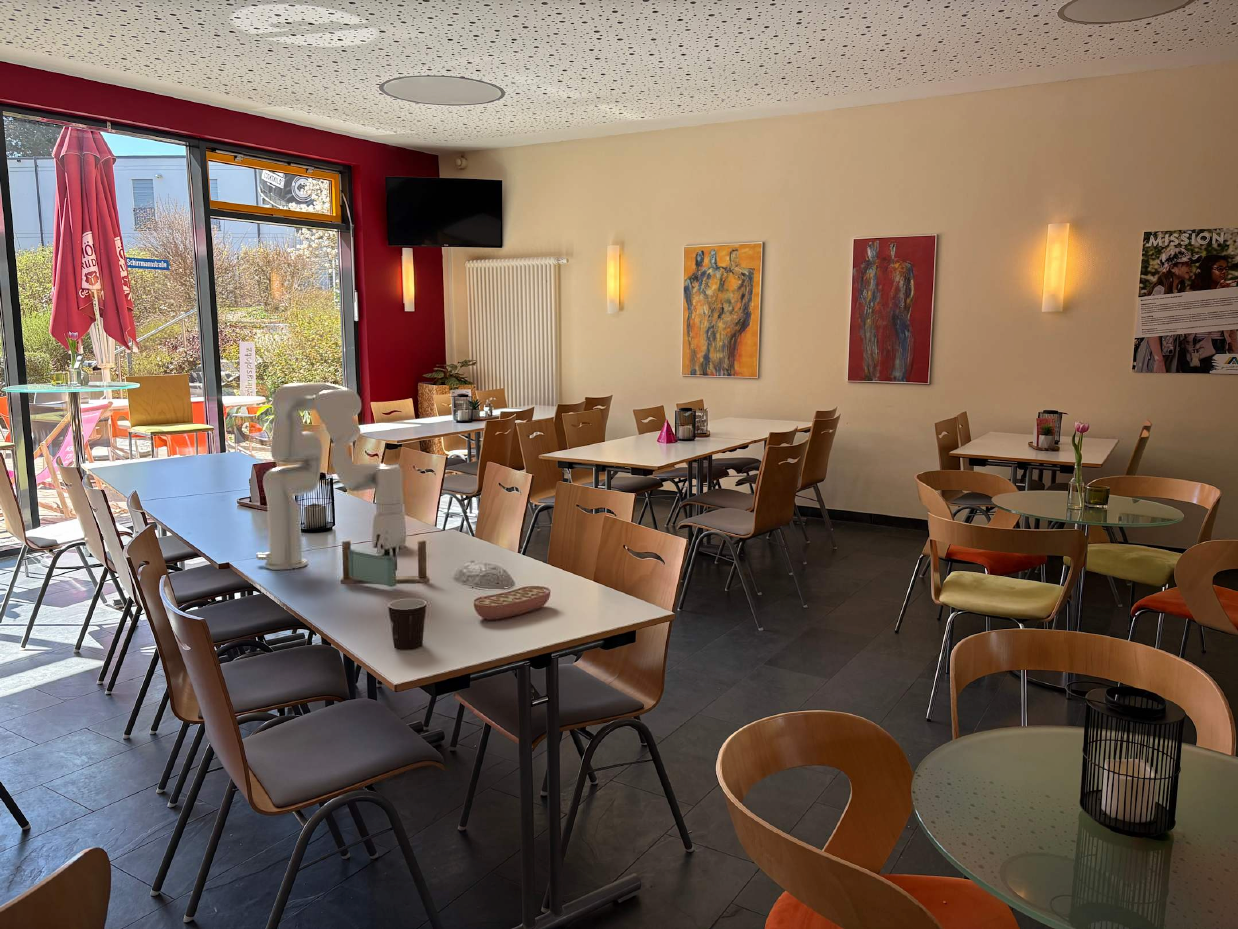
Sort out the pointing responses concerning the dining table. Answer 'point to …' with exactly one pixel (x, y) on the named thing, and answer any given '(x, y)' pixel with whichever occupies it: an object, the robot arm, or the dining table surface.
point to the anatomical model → (511, 602)
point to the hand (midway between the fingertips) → (391, 570)
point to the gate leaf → (372, 567)
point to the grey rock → (483, 576)
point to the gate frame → (420, 578)
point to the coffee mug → (407, 623)
